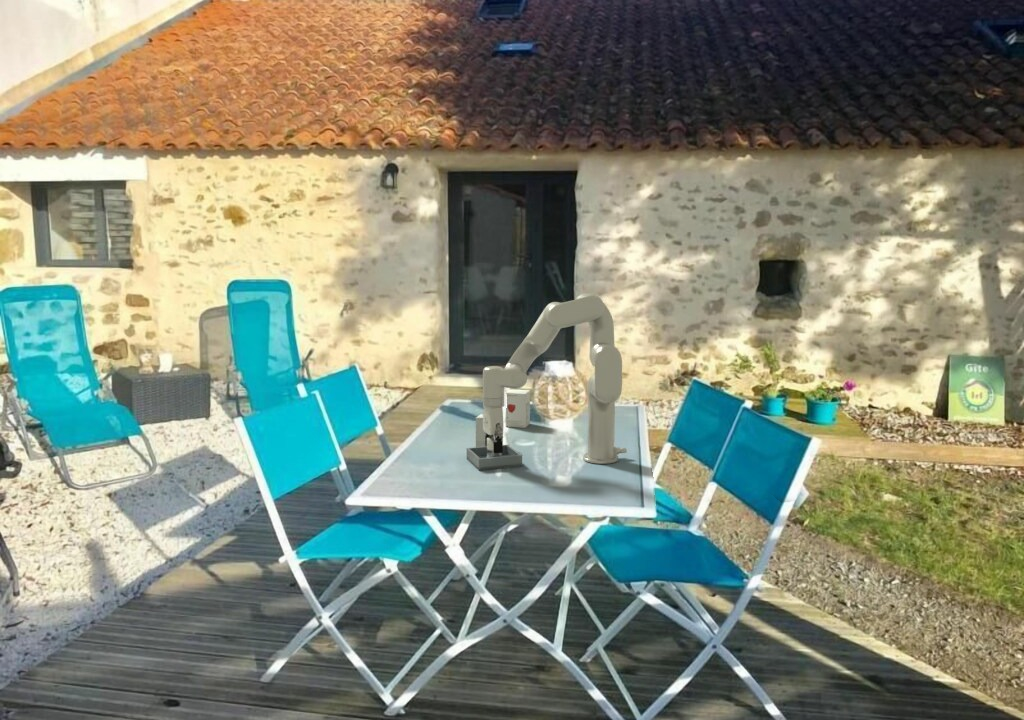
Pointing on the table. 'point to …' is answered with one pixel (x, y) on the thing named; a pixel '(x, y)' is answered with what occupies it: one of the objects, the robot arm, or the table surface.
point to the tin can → (491, 448)
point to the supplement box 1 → (480, 432)
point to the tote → (494, 458)
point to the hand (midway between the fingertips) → (493, 449)
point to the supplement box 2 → (518, 408)
